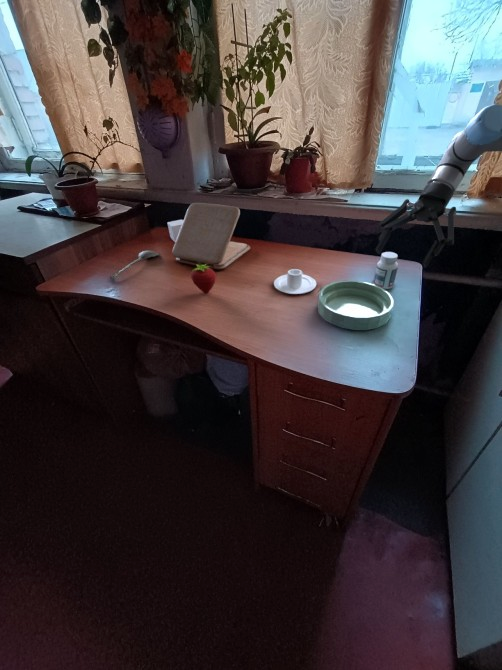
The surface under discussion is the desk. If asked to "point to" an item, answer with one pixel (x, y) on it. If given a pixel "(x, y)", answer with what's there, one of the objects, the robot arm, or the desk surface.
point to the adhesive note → (174, 228)
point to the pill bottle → (386, 270)
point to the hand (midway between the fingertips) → (399, 258)
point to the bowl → (355, 305)
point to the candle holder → (295, 282)
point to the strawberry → (203, 278)
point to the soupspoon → (141, 256)
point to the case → (209, 236)
